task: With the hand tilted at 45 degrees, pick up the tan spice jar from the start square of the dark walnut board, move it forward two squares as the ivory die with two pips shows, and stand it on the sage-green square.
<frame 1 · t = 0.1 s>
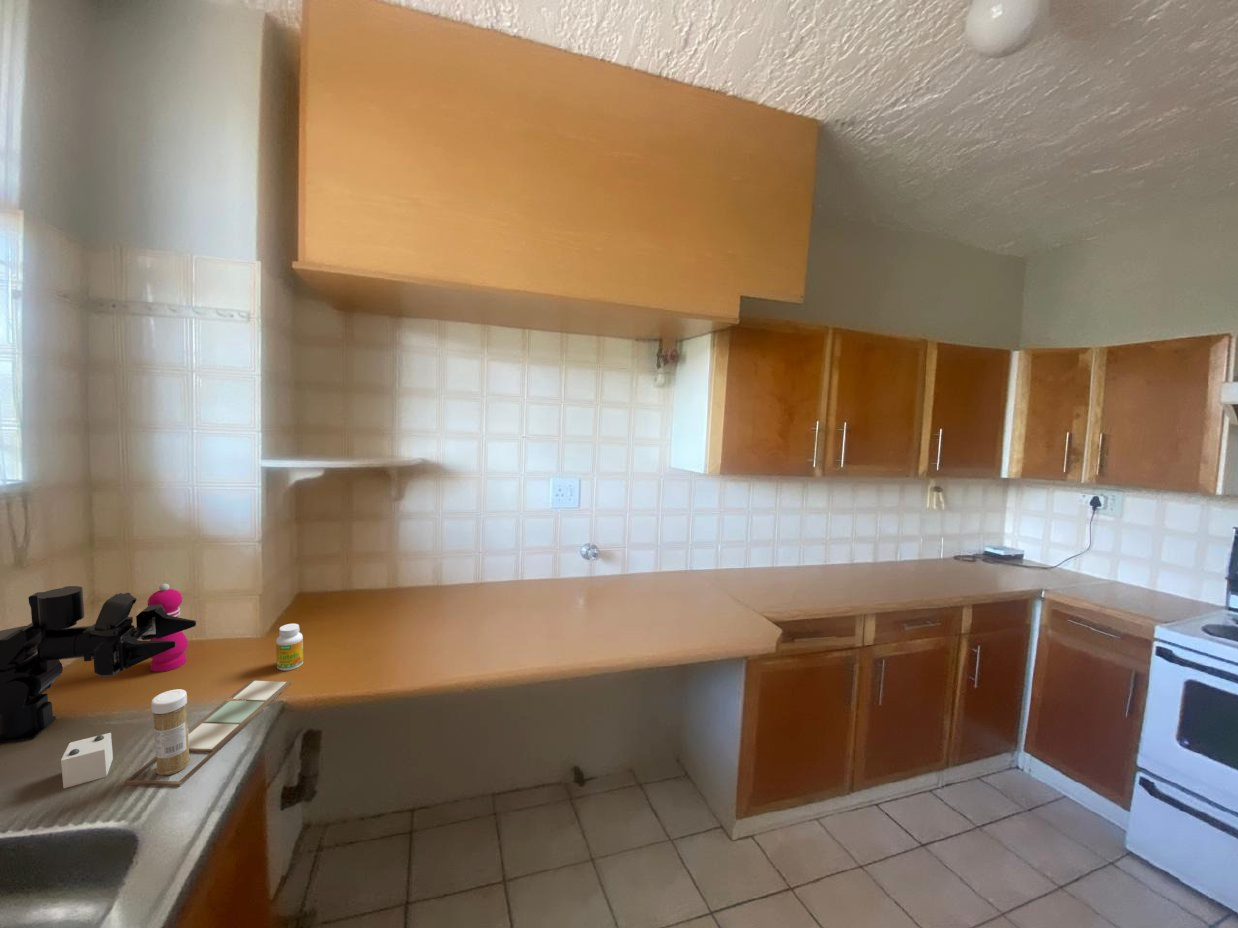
hand: (186, 633, 101), 17 cm above the table, tool horizontal, fingers open, 9 cm apart
game board: (221, 725, 99), on the table
die: (89, 772, 86), on the table
supplement bottle: (290, 665, 122), on the table
pepper mill: (168, 665, 119), on the table
tan spice jar: (173, 768, 88), resting on game board
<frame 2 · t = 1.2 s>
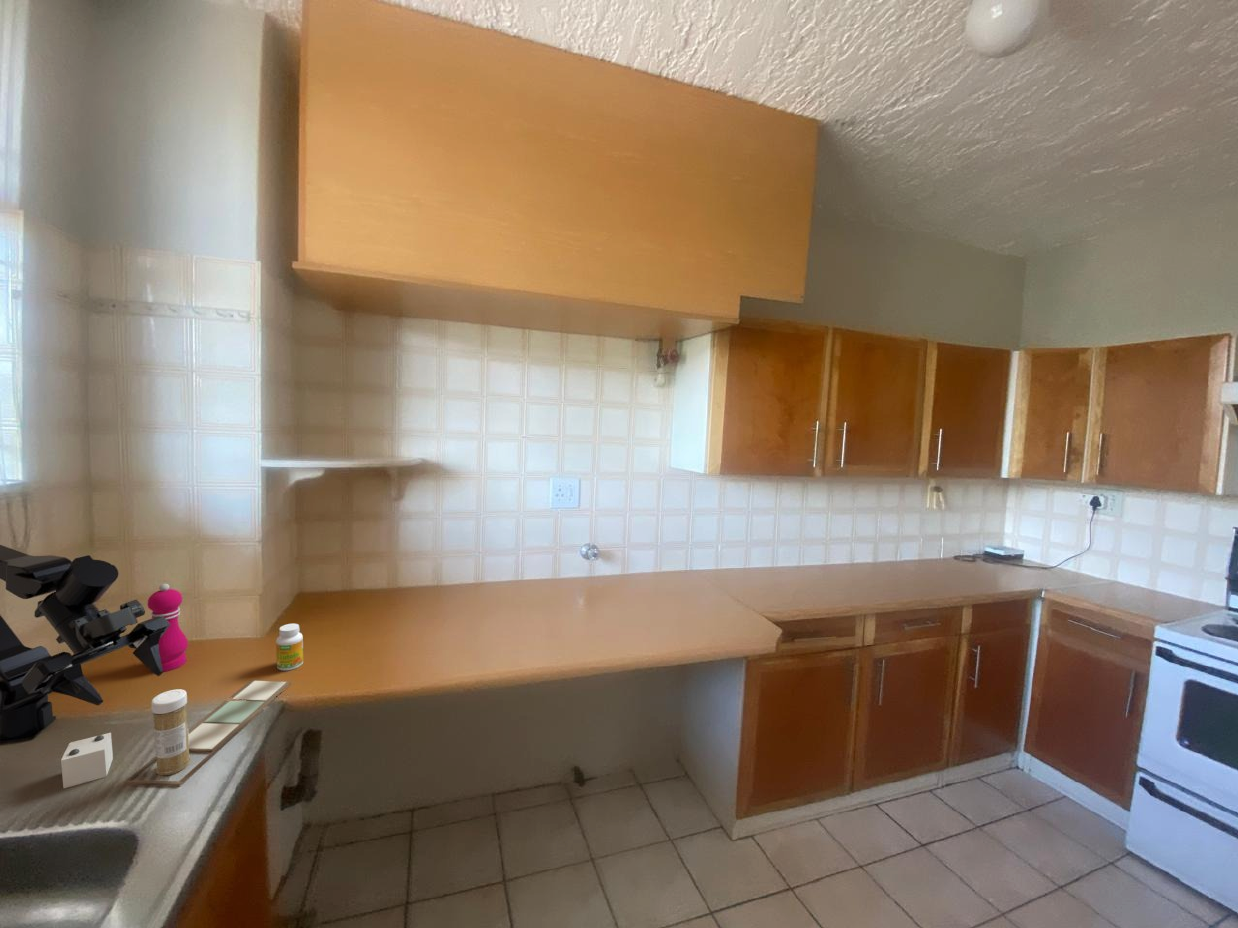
hand: (132, 688, 88), 13 cm above the table, tool tilted 45°, fingers open, 9 cm apart
nothing on the table moved.
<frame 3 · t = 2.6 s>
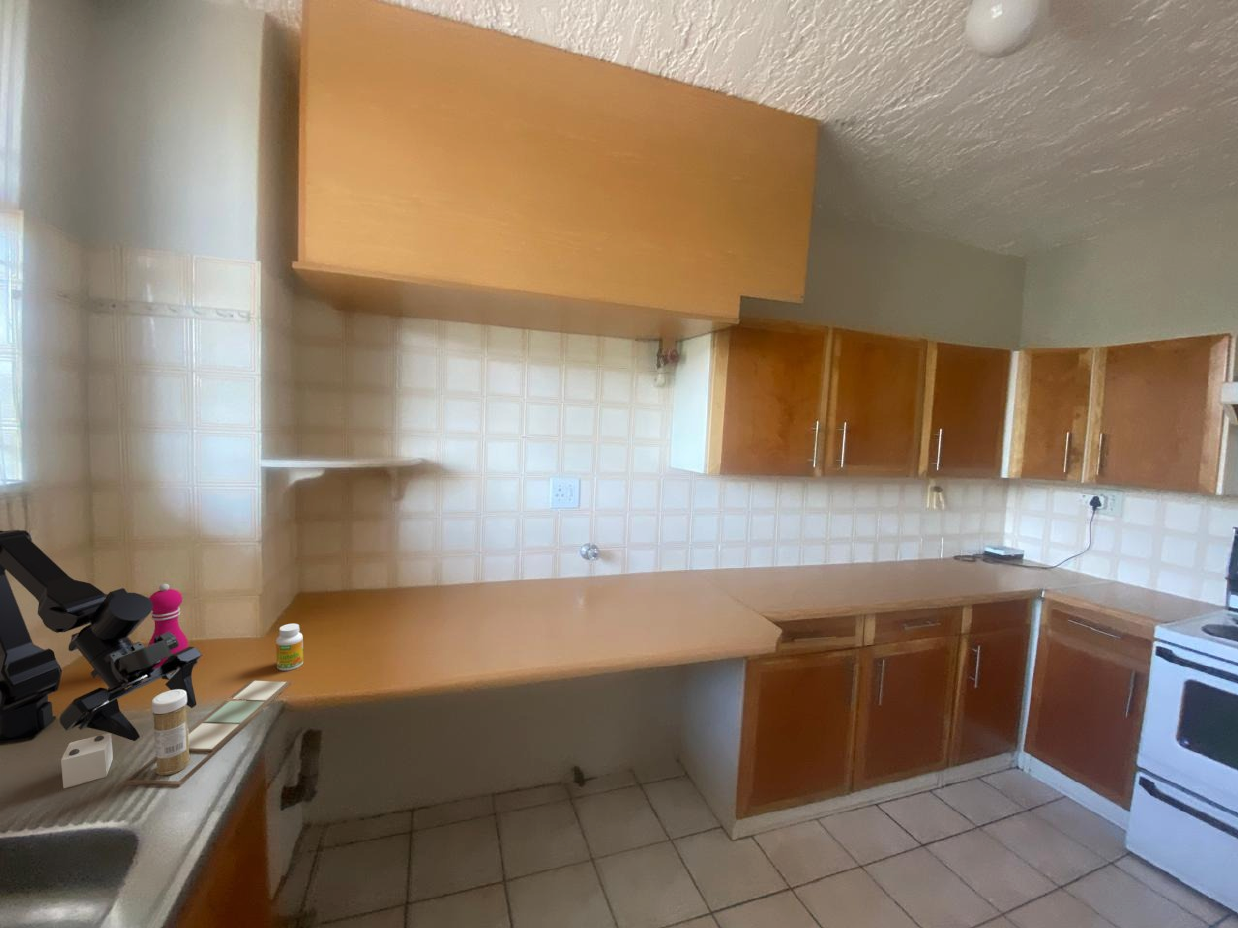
hand: (167, 721, 87), 8 cm above the table, tool tilted 45°, fingers open, 9 cm apart
nothing on the table moved.
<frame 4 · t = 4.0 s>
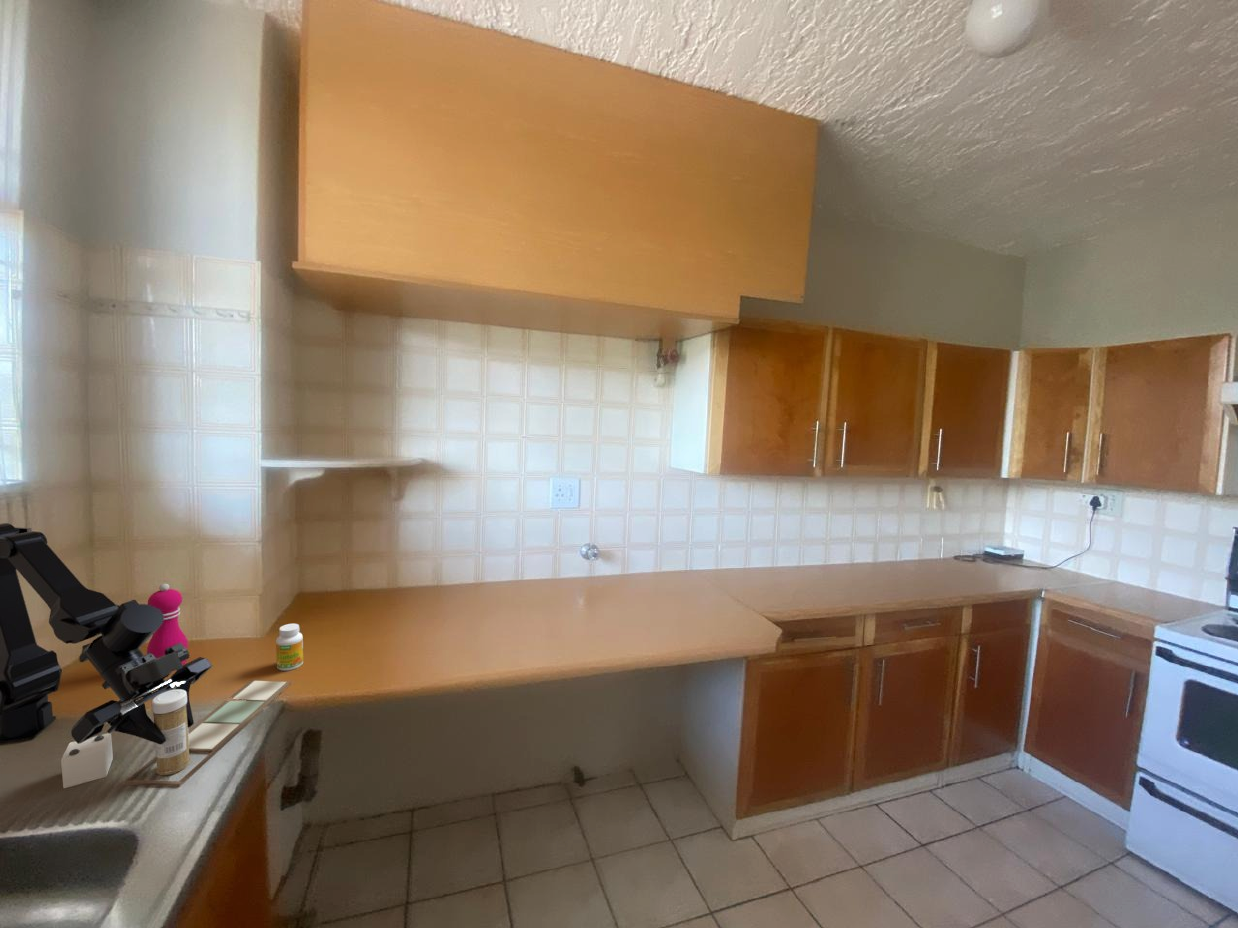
hand: (177, 733, 87), 7 cm above the table, tool tilted 45°, fingers closed on tan spice jar, 4 cm apart
tan spice jar: (173, 768, 88), resting on game board, touching gripper
everything else where it was.
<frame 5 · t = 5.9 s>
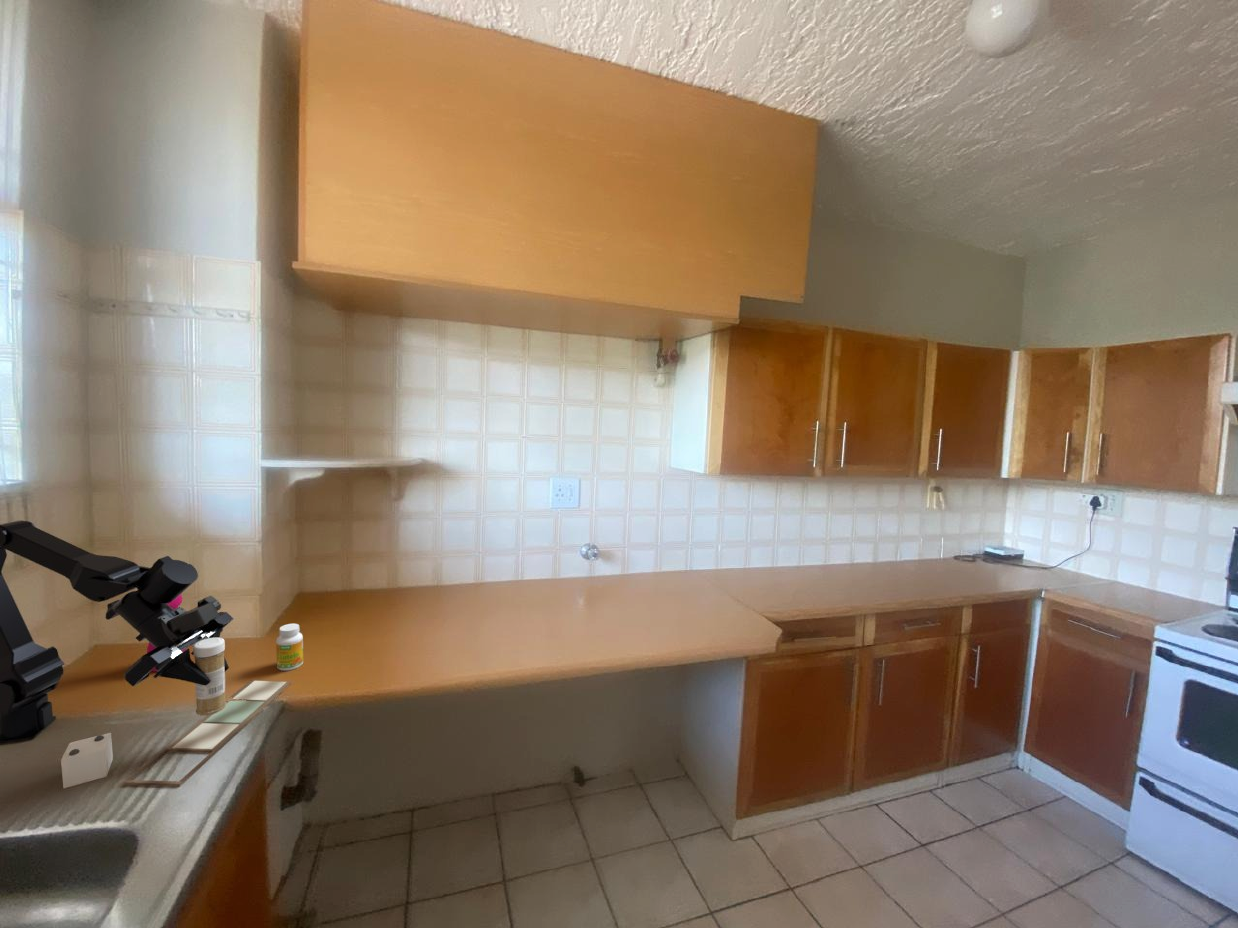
hand: (217, 676, 95), 12 cm above the table, tool tilted 45°, fingers closed on tan spice jar, 4 cm apart
tan spice jar: (211, 710, 95), point 5 cm above the table, touching gripper
everything else where it was.
when the fingers open (8 cm above the table, at t = 7.8 s): tan spice jar moves 1 cm, resting on game board.
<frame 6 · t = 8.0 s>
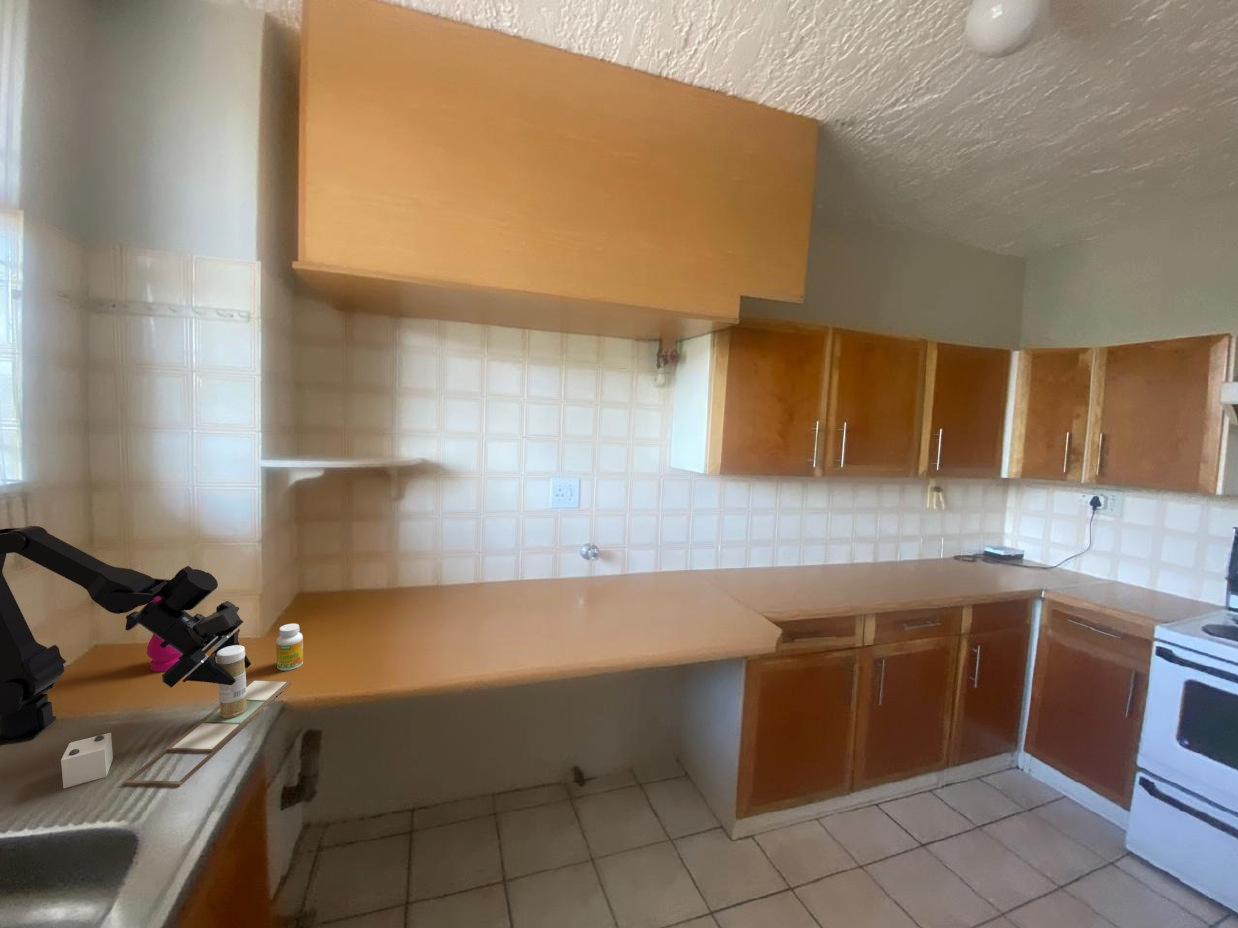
hand: (241, 674, 102), 9 cm above the table, tool tilted 45°, fingers open, 6 cm apart
tan spice jar: (233, 712, 103), resting on game board
everything else where it was.
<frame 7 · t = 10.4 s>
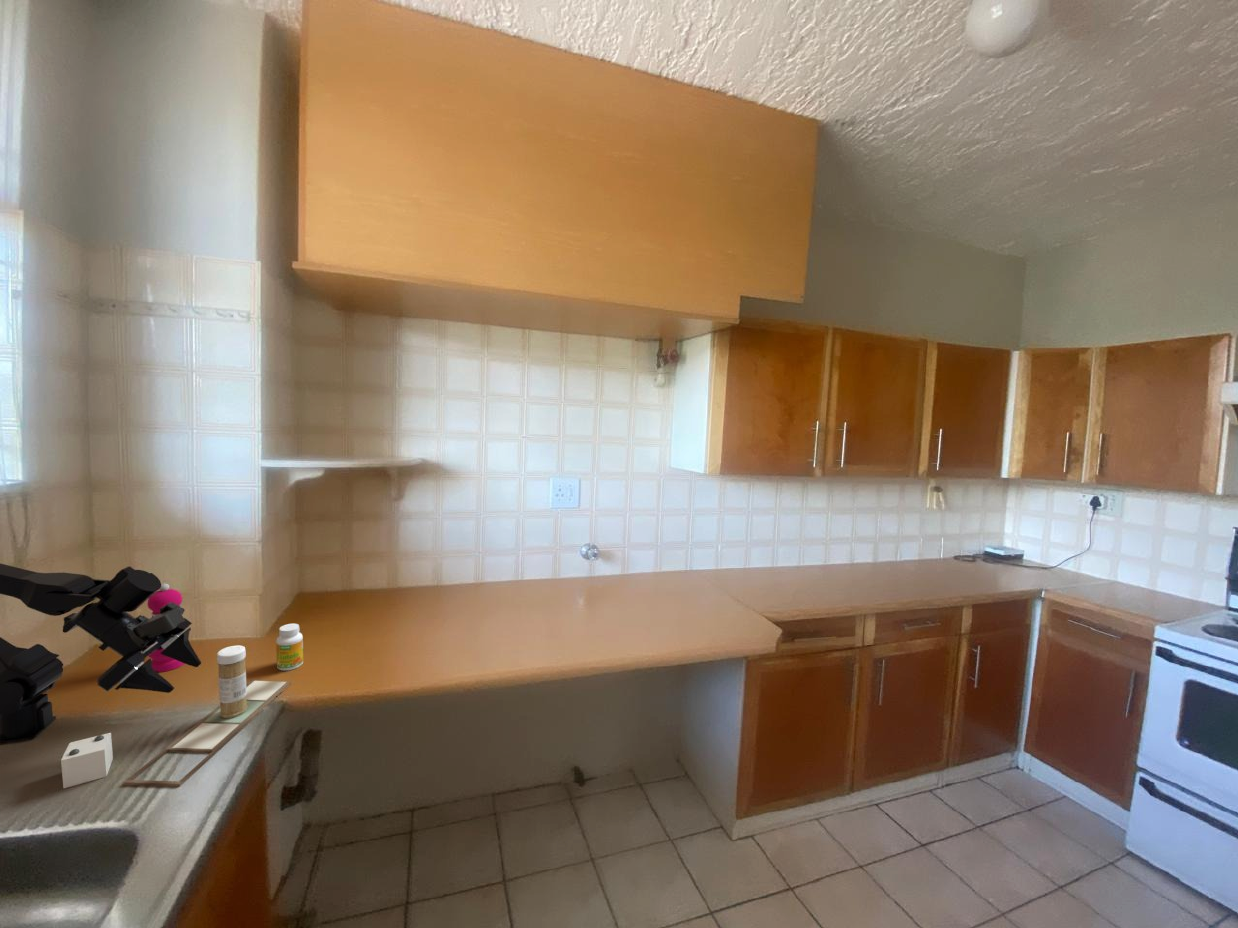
hand: (186, 677, 100), 9 cm above the table, tool tilted 45°, fingers open, 9 cm apart
nothing on the table moved.
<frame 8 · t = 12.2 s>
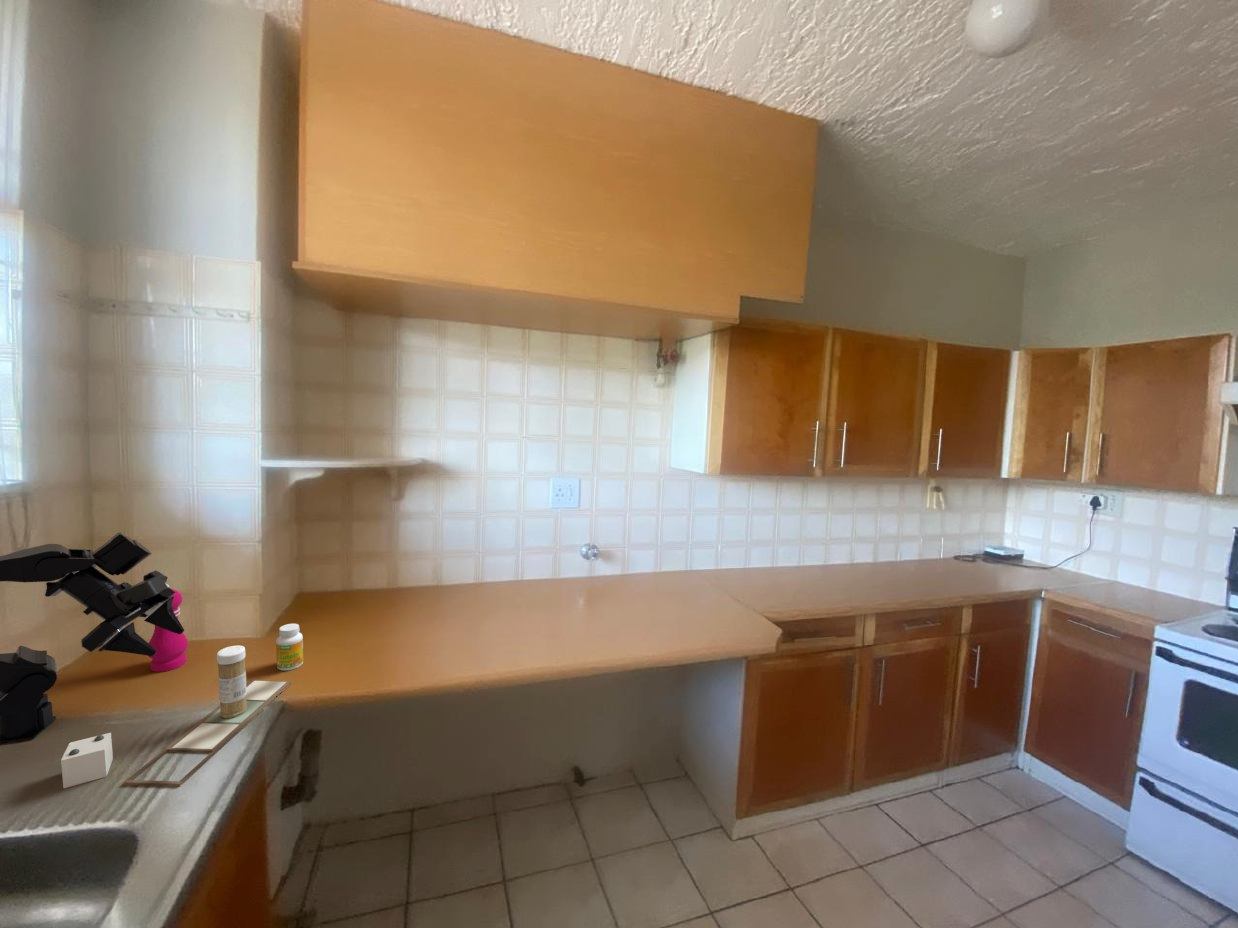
hand: (169, 642, 103), 14 cm above the table, tool tilted 45°, fingers open, 9 cm apart
nothing on the table moved.
at the end: tan spice jar 0.4 cm from the target spot, resting on game board; tan spice jar tilted 0°; the gripper is holding nothing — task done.
